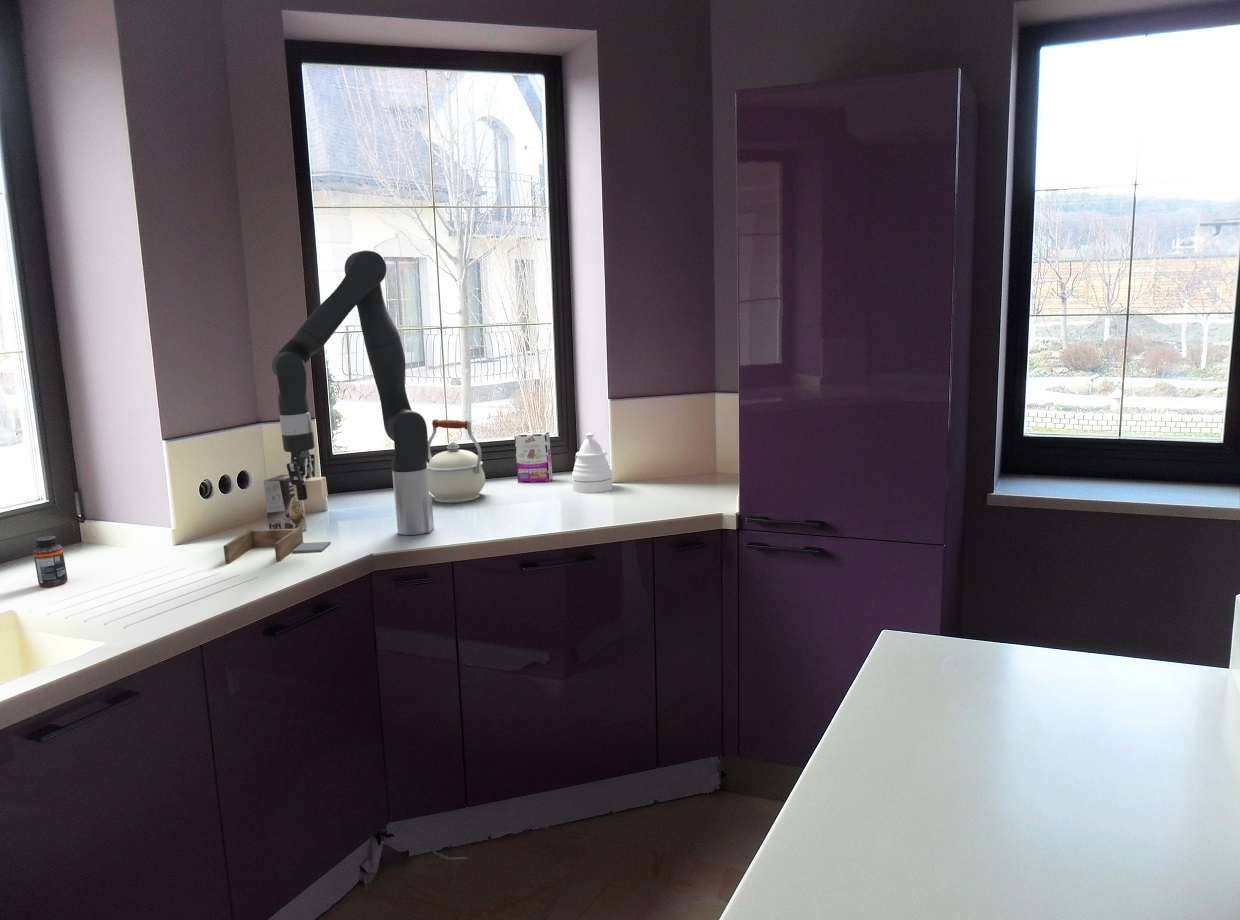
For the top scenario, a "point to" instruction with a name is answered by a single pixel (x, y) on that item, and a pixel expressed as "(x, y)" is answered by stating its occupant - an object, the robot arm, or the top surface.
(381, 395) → the robot arm
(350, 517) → the top surface
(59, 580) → the supplement bottle
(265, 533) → the shelf bay
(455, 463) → the kettle
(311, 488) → the block
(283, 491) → the coffee box
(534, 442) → the candy bar box
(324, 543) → the slate pad
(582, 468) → the honey pot
